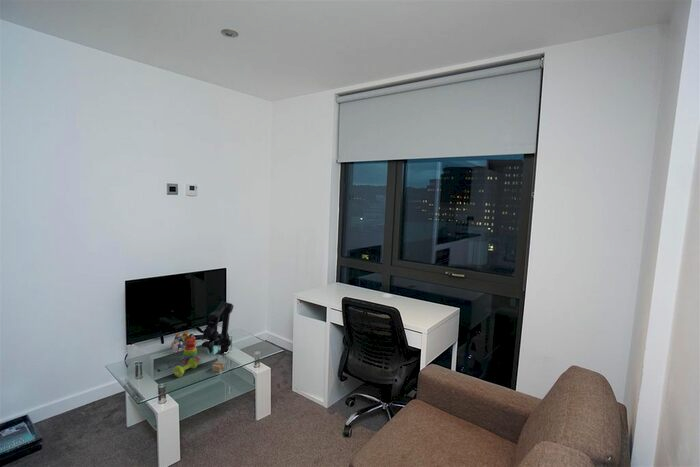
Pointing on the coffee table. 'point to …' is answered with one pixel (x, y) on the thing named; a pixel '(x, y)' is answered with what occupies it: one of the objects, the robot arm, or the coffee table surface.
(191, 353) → the stacking bear
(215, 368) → the walnut brick
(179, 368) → the dumbbell
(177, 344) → the doll family
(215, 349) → the teal brick
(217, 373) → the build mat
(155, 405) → the coffee table surface
